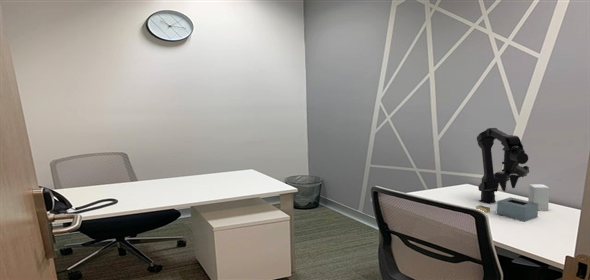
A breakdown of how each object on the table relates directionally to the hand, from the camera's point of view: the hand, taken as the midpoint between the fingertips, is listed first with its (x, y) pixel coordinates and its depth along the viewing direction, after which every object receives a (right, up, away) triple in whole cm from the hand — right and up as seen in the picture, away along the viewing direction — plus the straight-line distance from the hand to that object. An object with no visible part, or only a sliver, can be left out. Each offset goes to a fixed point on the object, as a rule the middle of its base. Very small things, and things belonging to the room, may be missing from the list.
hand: (508, 189), depth 198 cm
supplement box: (+19, -11, +6) cm, 23 cm away
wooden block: (-11, -12, +5) cm, 17 cm away
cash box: (+2, -13, -4) cm, 13 cm away
